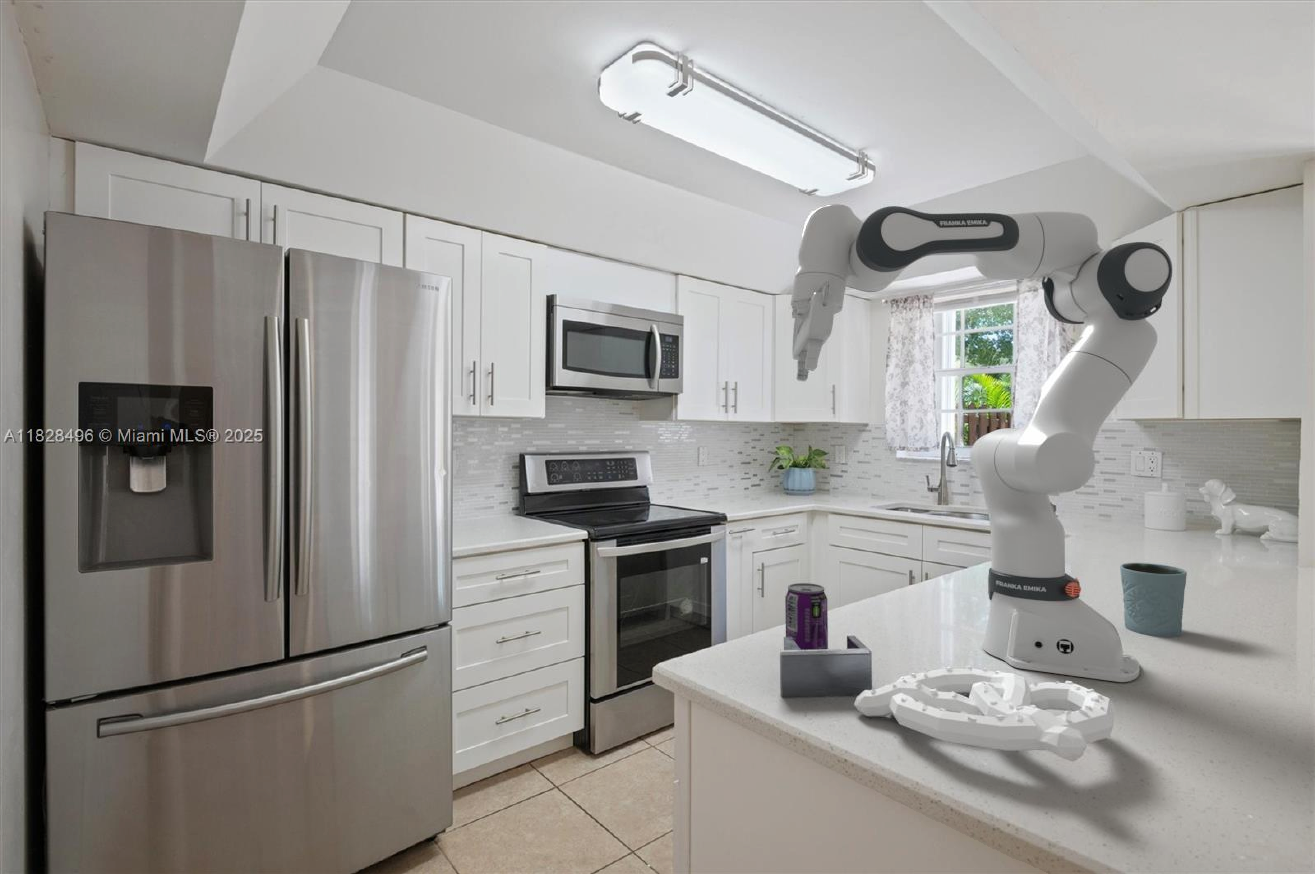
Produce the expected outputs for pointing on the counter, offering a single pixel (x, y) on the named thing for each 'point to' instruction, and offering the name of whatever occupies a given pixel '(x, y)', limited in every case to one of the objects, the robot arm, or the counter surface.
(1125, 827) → the counter surface
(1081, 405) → the robot arm
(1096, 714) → the pretzel
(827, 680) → the grey u-shaped holder
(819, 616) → the beverage can
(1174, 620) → the teal embossed flower pot
